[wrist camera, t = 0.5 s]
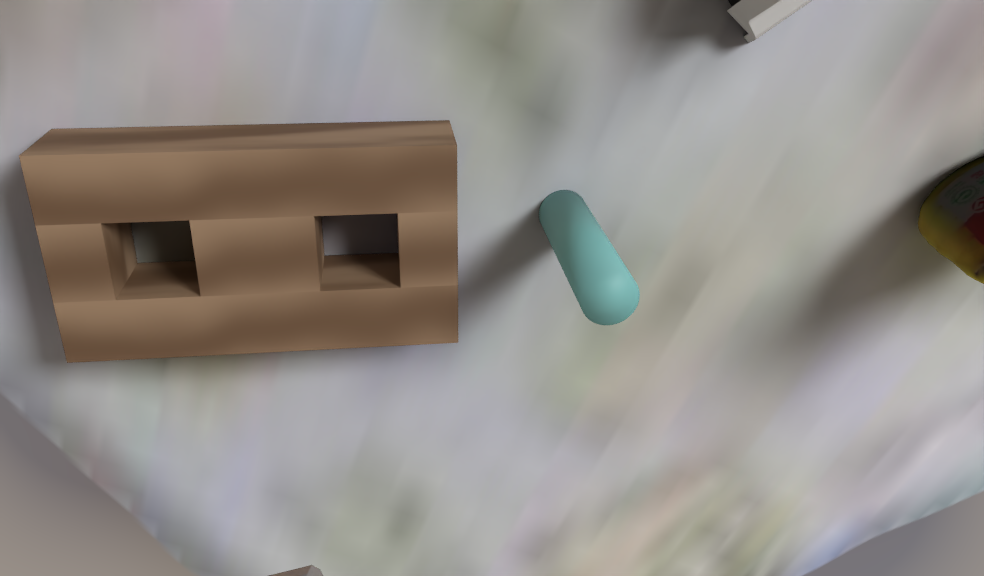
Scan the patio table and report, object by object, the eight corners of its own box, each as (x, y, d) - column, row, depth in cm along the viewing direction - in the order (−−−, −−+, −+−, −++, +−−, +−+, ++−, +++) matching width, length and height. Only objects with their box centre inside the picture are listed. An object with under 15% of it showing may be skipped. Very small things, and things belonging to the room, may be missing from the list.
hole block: (51, 128, 48) (19, 155, 44) (449, 120, 51) (456, 144, 46) (92, 321, 53) (67, 362, 49) (451, 304, 56) (458, 342, 51)
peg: (539, 190, 53) (582, 272, 43) (587, 189, 54) (641, 270, 43) (537, 236, 55) (578, 326, 44) (585, 234, 55) (636, 323, 44)
